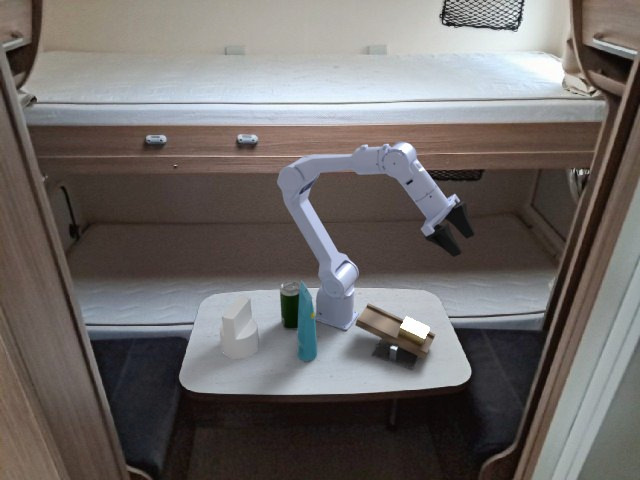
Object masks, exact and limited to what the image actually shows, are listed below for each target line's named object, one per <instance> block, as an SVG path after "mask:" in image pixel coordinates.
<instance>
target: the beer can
mask: <svg viewBox="0 0 640 480" xmlns="http://www.w3.org/2000/svg"><path fill="white" fill-rule="evenodd" d="M300 284H301V283H300V282H297V281H296V280H295V281H294V280H287V281H284V282H282V284H280V289H279V297H280V301H279V302H280V318H281V319H280V320H281V325H282V327H283V328H284V329H285V330H286V331H287V330H289V331H295V330H298V309H299V293H300Z"/></svg>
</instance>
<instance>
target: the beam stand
mask: <svg viewBox="0 0 640 480" xmlns="http://www.w3.org/2000/svg"><path fill="white" fill-rule="evenodd" d="M371 357H374V358H377V359H380V360H383V361H386V362H389V363H391V364H394V365H398V366H400V367H402V368H405V369H409V370H412V371H413V369H414V367H415V365H416V363H417V360H418V358H419V356H417V355H415V354H413V353H411V352H409V351H407V350H405V349H403V348H401V347H399V346H396V345H394V344H392V343H390V342H388V341H386V340H384V339H382V338H380V340H379V342H378V344H377V345H376V346H375V348H374V350H373V351H372V354H371Z"/></svg>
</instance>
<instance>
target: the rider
mask: <svg viewBox="0 0 640 480" xmlns="http://www.w3.org/2000/svg"><path fill="white" fill-rule="evenodd" d="M403 320H404V322H403V324H402V326H401V328H400V330H399V333H398V337H400V338H403V339H405V340H407V341H409V342H411V343H413V344H415V345H417V346H419V347H422V344H423V342H424V340H425V338H426V336H427V334H428V331H429V332H430V328H431V327H429V326H428V325H425V324H424V323H421V322H420V321H416V320H415V319H413V318H410V317H408V316H406V317H405V319H403Z"/></svg>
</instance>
